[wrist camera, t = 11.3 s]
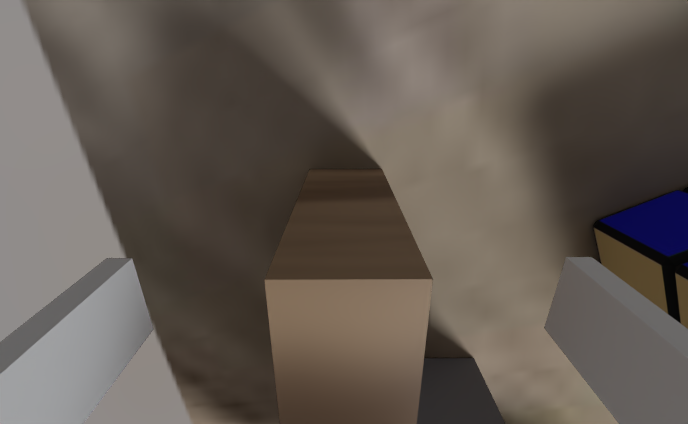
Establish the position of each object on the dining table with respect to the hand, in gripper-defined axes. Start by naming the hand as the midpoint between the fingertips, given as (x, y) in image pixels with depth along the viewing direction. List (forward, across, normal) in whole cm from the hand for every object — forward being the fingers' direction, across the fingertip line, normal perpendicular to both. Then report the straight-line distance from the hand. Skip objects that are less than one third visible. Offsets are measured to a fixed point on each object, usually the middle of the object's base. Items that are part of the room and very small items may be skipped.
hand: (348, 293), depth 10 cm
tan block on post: (+9, 0, -10) cm, 13 cm away
